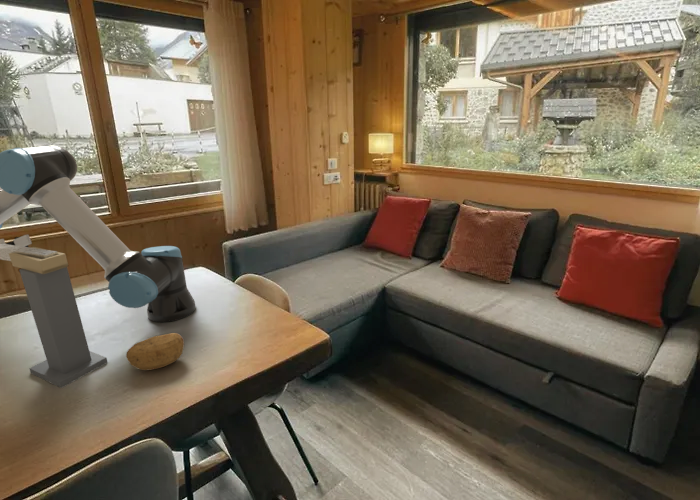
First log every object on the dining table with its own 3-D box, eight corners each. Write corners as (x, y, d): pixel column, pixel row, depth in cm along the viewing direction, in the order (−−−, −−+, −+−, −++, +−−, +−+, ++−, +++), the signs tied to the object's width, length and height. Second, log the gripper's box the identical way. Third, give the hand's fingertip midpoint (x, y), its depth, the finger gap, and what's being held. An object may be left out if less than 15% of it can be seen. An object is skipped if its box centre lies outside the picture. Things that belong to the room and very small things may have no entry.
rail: (60, 263, 99) (57, 251, 98) (47, 267, 97) (44, 255, 96) (3, 253, 108) (-1, 243, 107) (-10, 257, 105) (-14, 246, 104)
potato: (129, 364, 110) (123, 338, 108) (184, 349, 117) (179, 324, 114) (130, 383, 102) (124, 356, 100) (189, 366, 109) (185, 340, 106)
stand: (107, 362, 111) (79, 249, 101) (61, 387, 101) (24, 265, 91) (77, 350, 118) (47, 243, 107) (30, 373, 108) (-7, 257, 97)
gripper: (14, 262, 128) (56, 247, 118) (-61, 279, 112) (-19, 263, 102) (5, 240, 128) (47, 222, 118) (-71, 253, 111) (-31, 234, 101)
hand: (16, 241), depth 110 cm, fingers open, 5 cm apart
